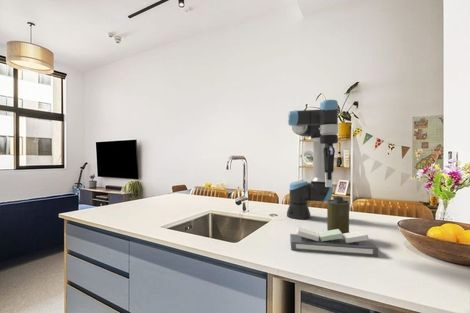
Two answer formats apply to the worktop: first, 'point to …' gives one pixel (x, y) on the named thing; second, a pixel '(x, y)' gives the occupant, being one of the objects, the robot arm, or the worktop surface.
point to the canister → (338, 214)
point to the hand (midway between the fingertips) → (328, 186)
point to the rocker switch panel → (333, 246)
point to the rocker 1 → (307, 233)
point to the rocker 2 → (355, 236)
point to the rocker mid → (330, 235)
